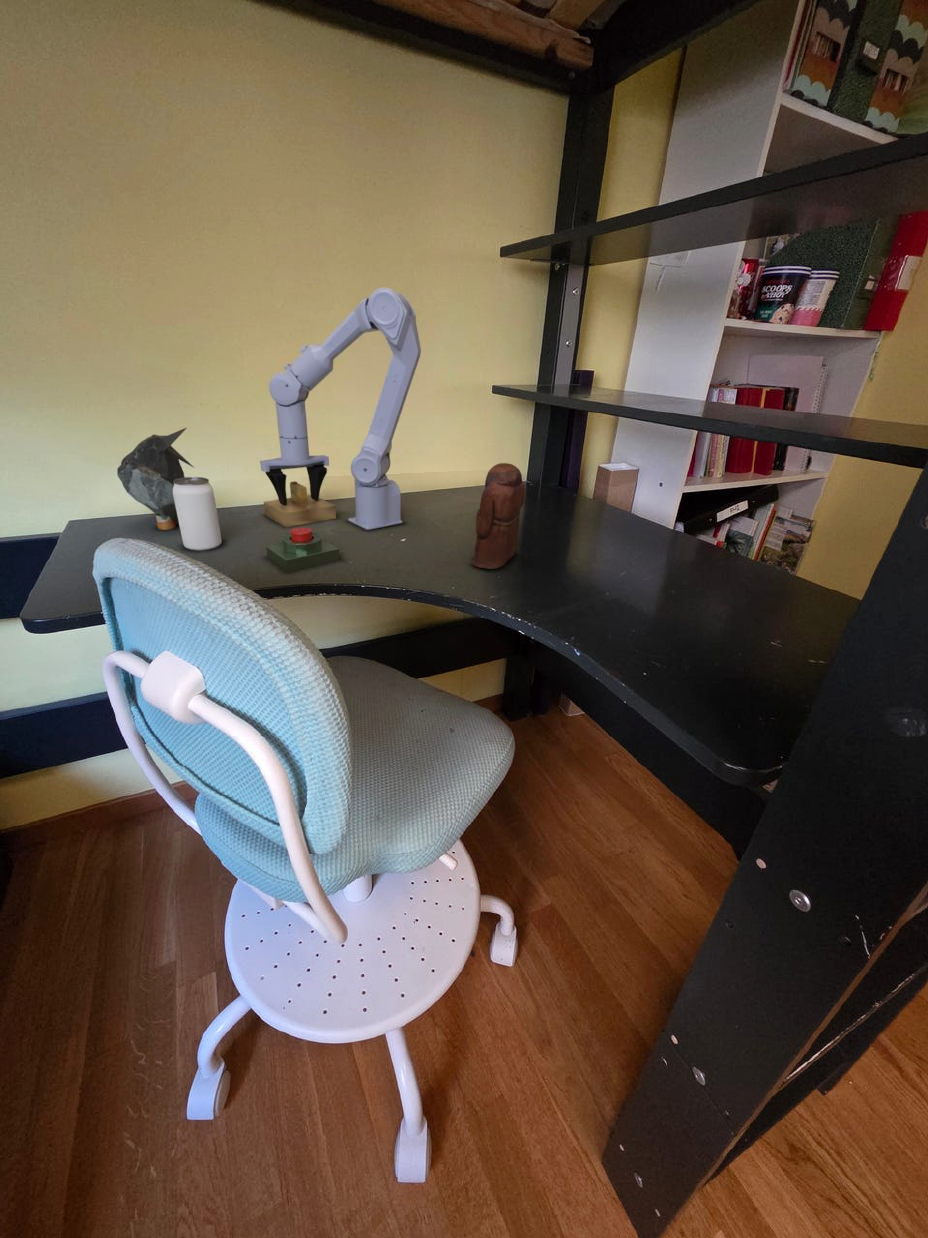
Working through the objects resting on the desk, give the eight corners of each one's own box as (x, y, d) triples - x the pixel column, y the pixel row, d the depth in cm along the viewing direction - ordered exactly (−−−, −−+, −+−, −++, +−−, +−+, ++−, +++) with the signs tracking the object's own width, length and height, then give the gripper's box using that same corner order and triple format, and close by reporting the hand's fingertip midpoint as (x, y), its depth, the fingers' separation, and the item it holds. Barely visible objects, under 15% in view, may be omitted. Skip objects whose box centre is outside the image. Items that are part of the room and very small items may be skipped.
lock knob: (307, 505, 111) (306, 485, 109) (302, 506, 110) (300, 486, 108) (297, 499, 114) (295, 480, 112) (291, 500, 114) (289, 481, 112)
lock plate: (314, 507, 121) (313, 493, 119) (336, 518, 114) (335, 504, 113) (265, 514, 113) (263, 500, 112) (285, 527, 107) (283, 512, 106)
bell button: (306, 535, 93) (305, 526, 92) (316, 541, 91) (315, 531, 90) (287, 538, 91) (286, 529, 90) (297, 544, 89) (296, 535, 88)
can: (207, 553, 92) (195, 486, 86) (175, 548, 93) (161, 482, 87) (229, 541, 98) (219, 478, 92) (199, 537, 99) (187, 474, 93)
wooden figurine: (490, 547, 104) (498, 456, 95) (519, 554, 101) (531, 461, 93) (466, 566, 94) (473, 467, 86) (498, 574, 92) (509, 472, 83)
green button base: (318, 547, 98) (316, 526, 96) (339, 560, 93) (338, 539, 91) (267, 557, 92) (264, 536, 90) (287, 572, 87) (285, 550, 85)
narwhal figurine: (110, 527, 100) (84, 431, 92) (174, 508, 113) (156, 422, 105) (166, 540, 96) (144, 440, 88) (226, 519, 109) (212, 430, 101)
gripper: (316, 431, 113) (320, 493, 119) (250, 435, 104) (259, 501, 110) (332, 437, 108) (335, 500, 115) (265, 441, 99) (273, 509, 106)
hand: (299, 501), depth 112 cm, fingers open, 7 cm apart
